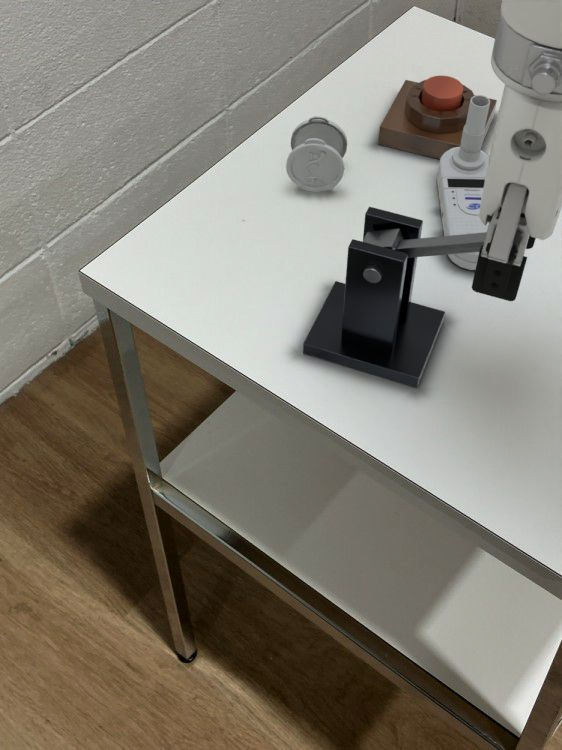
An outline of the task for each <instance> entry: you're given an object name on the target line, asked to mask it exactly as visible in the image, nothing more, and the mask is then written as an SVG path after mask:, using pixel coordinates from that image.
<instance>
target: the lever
mask: <svg viewBox="0 0 562 750" xmlns="http://www.w3.org/2000/svg"><path fill="white" fill-rule="evenodd" d="M520 217H523V218H526V217H525V214H524V213H521V216H520ZM486 233H487V232H483V233H472V234H462V235H451V236H444V235H441V236H429V237H421V238H419V239H408V240H404V238H403V236H402V233H401V231H400V229H389V230H379V231H369V232H367V234H366V236H365V238H364V240H363V239H362V242H365V243H369V244H373V245H377V246H380V247H384V248H388V249H392V250H395V251H399V252H403V253H406V254H408V257H407V258H412V257H417V258H423V257H436V256H448V255H449V254H461V253H473V252H480V248H481V246H482V245H484V241H485V237H486ZM520 236H521V232H518V231H516V233H515V237H514V240H513V244H514V245H517V247H518V244H519V240H520Z"/></svg>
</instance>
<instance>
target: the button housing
mask: <svg viewBox="0 0 562 750" xmlns="http://www.w3.org/2000/svg"><path fill="white" fill-rule="evenodd" d="M426 80H427V79H423V80H422V81H420V82H418V81H413V80H408V79H405V80H404V82H403V84H402V86H401V87H400V89H399V91H398V93H397V95H395V98H394V100H393V102H392V104H391V105H390V107H389V109H388V111H387V113H385V114H386V115H385V116H384V118H383V120H382V121H381V123H380V125H379V129H378V140H377V141H378V142H377V144H378V145H379V146H382V147H387V148H391V149H397V150H400V151H404V152H409V153H413V154H417V155H421V156H424V157H429V158H433V159H438V160H440V158H441V157H442V155H443V154H444V153H445V152H446V151H448V150H450V149H452V148H455V147H460V145H461V139H462V134H463V128H464V126H465V125H466V120H467V115H468V110H469V105H470V100H471V98H472V97H473V96H476V95H477V94H474V92H473V90H472V89H471V88H469V87H467V86H466V85H464V84H463V83H461V84H462V85H463V93H462V99H461V104H460V107H459V108H458V109H456V110H454V111H445V112H439V111H435V110H430V109H428V108H427V107H425V106H424V105H423V104H422V101H421V99H422V92H423V84H424V82H425V81H426ZM488 98H489V97H488ZM489 100H490V106H489V110H488V115H487V119H486V124H485V134H484V139H483V142H484V140H485V139H486V136H487V134H488V131H489V129H490V127H491V124H492V123H493V119H494V116H495V113H496V108H497V102H498V100H497V99H494V98H491V97H490V98H489Z"/></svg>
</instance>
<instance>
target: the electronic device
mask: <svg viewBox="0 0 562 750" xmlns="http://www.w3.org/2000/svg"><path fill="white" fill-rule="evenodd" d="M475 95H476V96H473V97H472V98H471V100H470V105H469V110H468V115H467V120H466V125H465V126H464V128H463V134H462V139H461V145H460V147H455V148H452V149H450V150H448V151H446V152H445V153H444V154H443V155H442V157H441V158H440V159H439V164H438V168H437V169H438V170H437V175H436V181H437V189H438V190H437V191H438V198H439V207H440V213H441V222H442V230H443V236H451V235H462V234H472V233H483V232H487V229H488V226H489V223H487V224H486V225H484V224H483V223H482V221H481V220H480V217H479V213H480V205H481V200H482V194H483V188H484V182H485V177H486V171H487V166H488V161H489V156H490V154H488V153H487V152H485V151H483V150H482V147H483V143H484V141H483V139H484V140H485V138H484V134H485V124H486V119H487V115H488V110H489V106H490V100H489V97H487V96H485V95H482V94H475ZM447 256H448V258H449V259H450V260H451V262H452V263H454V264H455V265H457V266H458V267H460V268H462V269H466V270H469V271H475V270H476V265H477V261H478V256H479V252H473V253H461V254H449V255H447Z"/></svg>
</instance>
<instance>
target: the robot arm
mask: <svg viewBox="0 0 562 750" xmlns="http://www.w3.org/2000/svg"><path fill="white" fill-rule="evenodd" d="M500 5H501V6H500V11H499V16H498V22H497V26H496V32H495V36H494V37H495V38H494V42H493V48H492V51H491V56H490V65H491V69H492V71H493V73H494V75H495V76H496V77H497V78H498V80H499V81H500V82H502V83H503V84H504V86H503V87H504V88H503V90H502V96H501V100H500V104H499V109H498V112H497V118H496V123H495V127H494V131H493V132H494V133H493V137H492V142H491V147H490V151H489V161H488V166H487V171H486V177H485V182H484V188H483V194H482V200H481V205H480V213H479V217H480V220H481V221H482V223H483V224H484V225H486V224H487V223H489V226H488V229H487V233H486V237H485V241H484V245H482V246H481V248H480V252H479V256H478V261H477V265H476V270H474V274H473V280H472V283H471V289H472V291H473V292H475V293H478V294H481V295H486V296H489V297H493V298H495V299H500V300H504V301H507V302H514V301H516V298H517V296H518V294H519V293H518V292H519V290H520V286H521V281H522V279H523V274H524V271H525V267H526V263H527V260H528V256H525V253H526V250H531V249H532V248H533V247H534V245H535V242H536V239H539V240H540V241H545V240H546V239H547V240H548V239H549V238H550V237H551V236H552V235H553V233H554V230H555V228H556V225H557V222H558V219H559V216H560V213H561V210H562V0H501V4H500ZM521 213H524V214H525V217H526V218H523V217H520V216H521ZM516 231H518V232H521V236H520V240H519V244H518V247H517V245H514V244H513V240H514V237H515V233H516Z"/></svg>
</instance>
